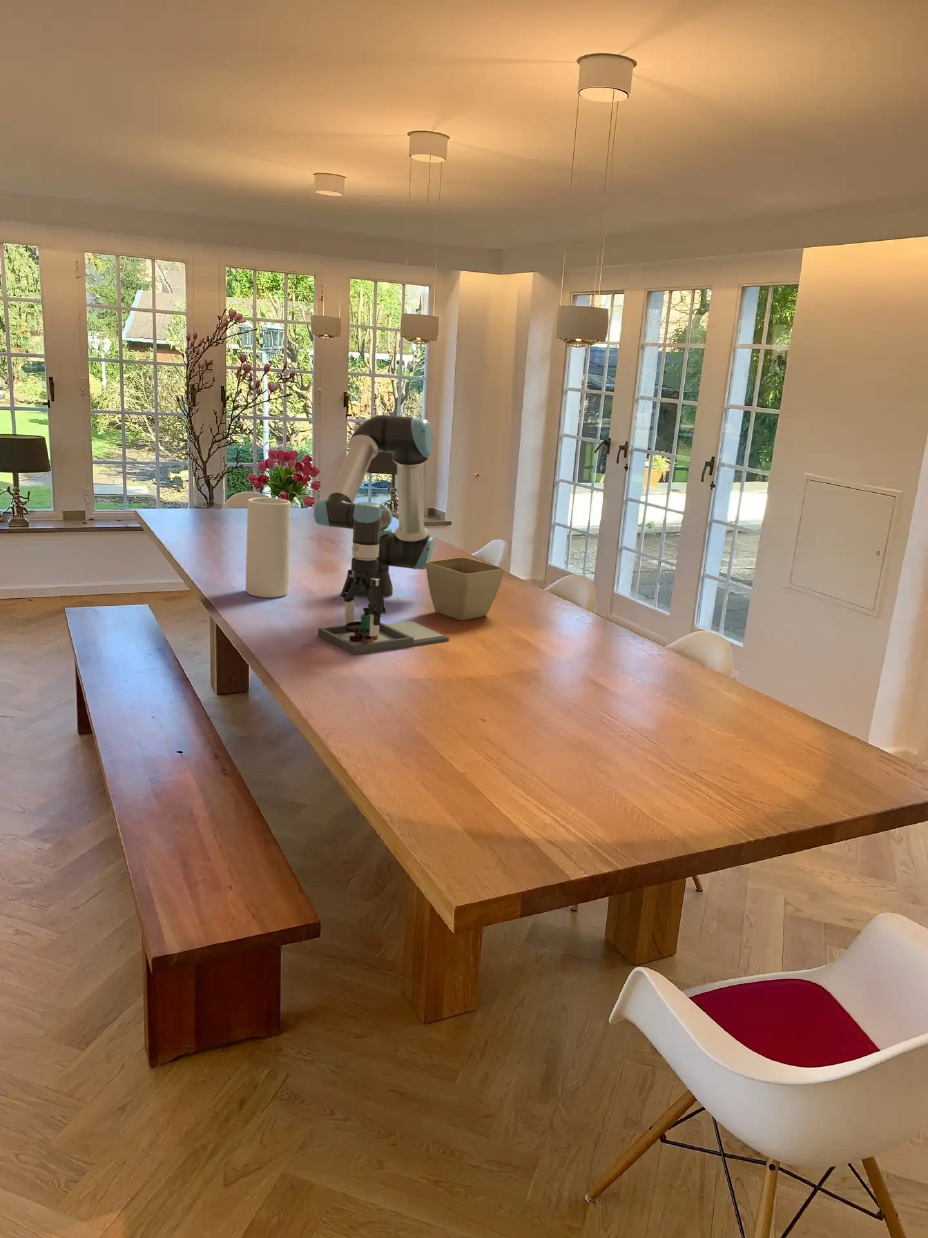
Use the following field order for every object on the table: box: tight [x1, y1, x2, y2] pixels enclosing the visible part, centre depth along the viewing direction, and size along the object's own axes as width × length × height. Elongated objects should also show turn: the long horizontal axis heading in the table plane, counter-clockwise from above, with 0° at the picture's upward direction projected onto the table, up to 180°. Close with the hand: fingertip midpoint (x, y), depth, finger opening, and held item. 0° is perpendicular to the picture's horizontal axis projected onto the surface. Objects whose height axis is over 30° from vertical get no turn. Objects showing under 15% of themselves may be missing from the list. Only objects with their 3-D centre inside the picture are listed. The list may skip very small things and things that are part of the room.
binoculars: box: [344, 603, 378, 643], centre depth 262 cm, size 9×11×10 cm
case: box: [317, 620, 450, 656], centre depth 267 cm, size 33×19×2 cm, turn 129°
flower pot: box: [425, 556, 505, 621], centre depth 299 cm, size 19×19×17 cm
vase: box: [245, 497, 292, 599], centre depth 303 cm, size 14×14×32 cm
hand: (361, 629), depth 263 cm, fingers open, 13 cm apart
